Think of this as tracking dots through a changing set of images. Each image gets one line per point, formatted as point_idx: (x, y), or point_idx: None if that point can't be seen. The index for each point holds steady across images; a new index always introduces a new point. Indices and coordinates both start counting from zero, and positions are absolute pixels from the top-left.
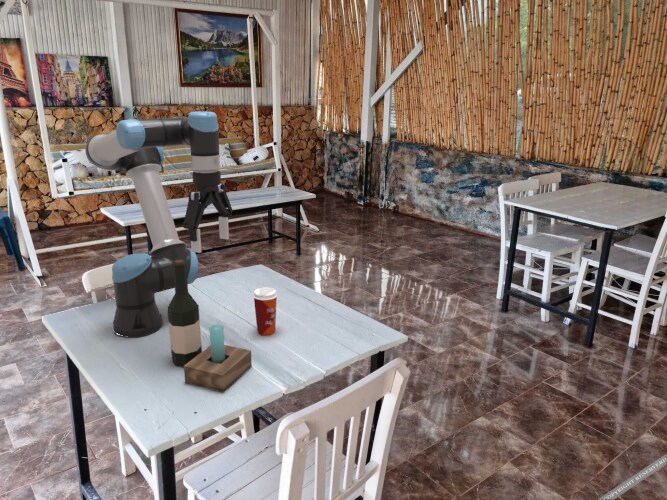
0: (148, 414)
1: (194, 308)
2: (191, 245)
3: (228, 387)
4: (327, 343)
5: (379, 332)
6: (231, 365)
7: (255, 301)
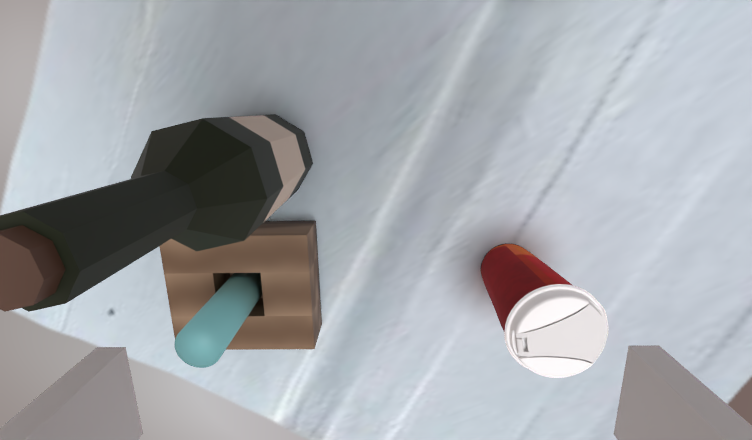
0: None
1: (205, 249)
2: (44, 397)
3: None
4: (500, 428)
5: None
6: None
7: (513, 301)
